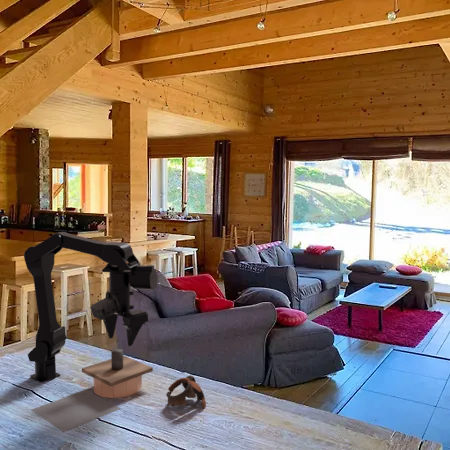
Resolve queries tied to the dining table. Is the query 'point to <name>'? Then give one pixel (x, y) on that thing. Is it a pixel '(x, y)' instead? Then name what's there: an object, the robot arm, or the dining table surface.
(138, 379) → the terracotta bowl
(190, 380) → the brown curved piece
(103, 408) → the felt mat
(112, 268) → the robot arm
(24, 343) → the dining table surface
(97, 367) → the walnut lid
